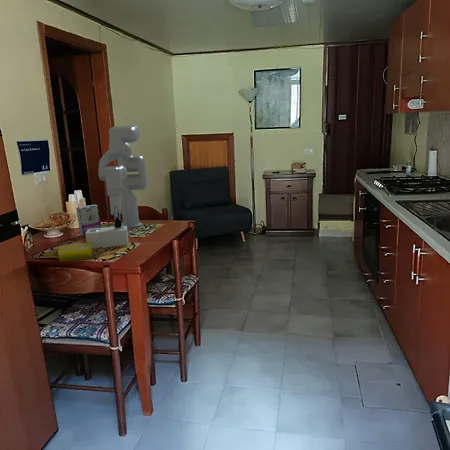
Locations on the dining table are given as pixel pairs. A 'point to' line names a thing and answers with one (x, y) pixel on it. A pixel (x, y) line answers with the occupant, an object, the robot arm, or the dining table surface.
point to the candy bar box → (88, 218)
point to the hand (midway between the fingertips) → (118, 227)
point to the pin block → (107, 237)
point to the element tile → (75, 252)
